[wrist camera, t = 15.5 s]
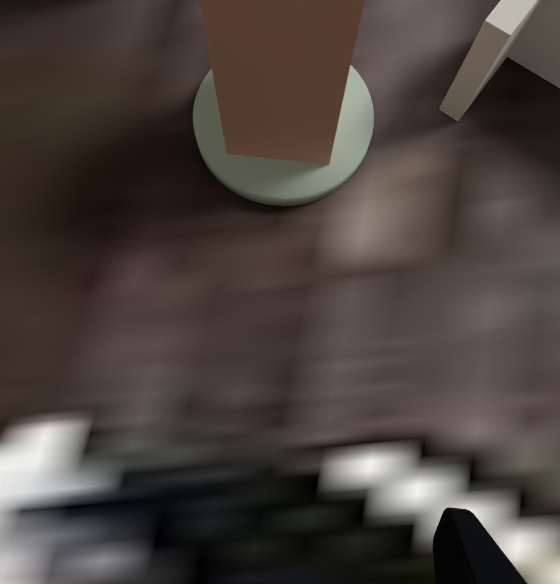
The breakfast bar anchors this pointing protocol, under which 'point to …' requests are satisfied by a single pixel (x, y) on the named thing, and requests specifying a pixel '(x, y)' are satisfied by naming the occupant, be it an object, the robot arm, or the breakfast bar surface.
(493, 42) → the bay
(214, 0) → the block
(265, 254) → the breakfast bar surface
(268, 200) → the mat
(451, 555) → the robot arm
